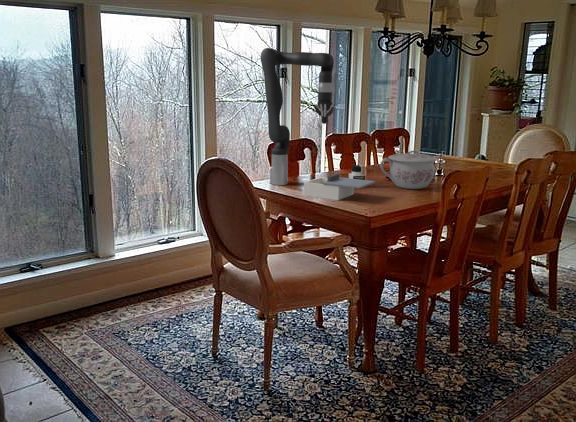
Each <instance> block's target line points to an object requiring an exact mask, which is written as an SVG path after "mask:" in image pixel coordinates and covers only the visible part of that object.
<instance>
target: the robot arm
mask: <svg viewBox="0 0 576 422" xmlns="http://www.w3.org/2000/svg"><path fill="white" fill-rule="evenodd" d="M334 60H335V59H334V56H333V55H332V54H330V53H328V52H327V53H326V52H309V51H308V52H305V51H298V52H297V51H296V52H285V51H279V50H276V49H274V48H270V47H265V48H264V49H262V51H261V53H260V63H261V68H262V72H263V73H262V74H263V78H264V79H263V81H264V90H265V99H266V107H267V108H266V109H267V121H268V130H267V131H268V137H269V140H271V142H273V143H275V145H274V147H273V148H271V166H270V167H269V184H271V185H273V186H287V185H288V180H289V179H288V176H289V174H288V169H289V168H288V166H289V165H288V163H289V160H288V159H289V157H288V156H289V154H288V153H289V149H290V142H291V141H290V140H291V134H290V132H291V131H290V129H289V127H288V126H286V125H285V124H284V125H282V124H281V123H280V114H281V111H282V107H283V104H284V96H283V89H282V85H281V82H280V79H279V77H278V74H277V66H279V65H281V66H282V65H294V66H296V65H297V66H305V67H312V66H314V67H320V72H319V73H318V87H317V89H318V90H317V100H318V101H317V104H316V105H314V106H313V109H314V111H315V112H316V114H317V115H318V116H320V117H321V124H324V125H326V124H327V123H328V117H330V116H332V114H333V113H334V111H335V110H336V106H334V105H333V102H332V100H333V84H332V83H333V70H334Z"/></svg>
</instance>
